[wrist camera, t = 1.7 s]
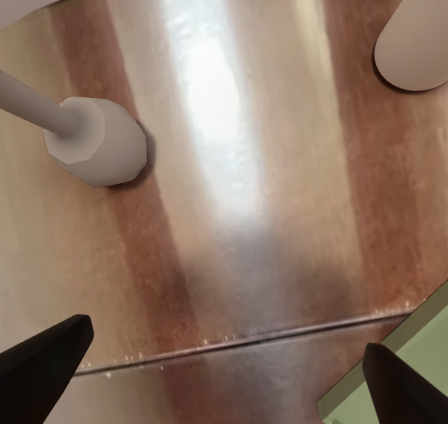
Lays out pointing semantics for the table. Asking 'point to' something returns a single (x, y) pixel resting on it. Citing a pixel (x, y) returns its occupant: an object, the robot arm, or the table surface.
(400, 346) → the tray
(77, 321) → the robot arm
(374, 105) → the table surface
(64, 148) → the potion bottle
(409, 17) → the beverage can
